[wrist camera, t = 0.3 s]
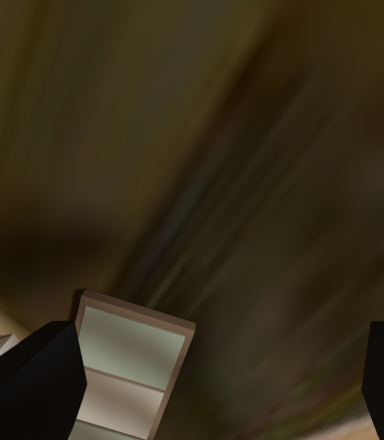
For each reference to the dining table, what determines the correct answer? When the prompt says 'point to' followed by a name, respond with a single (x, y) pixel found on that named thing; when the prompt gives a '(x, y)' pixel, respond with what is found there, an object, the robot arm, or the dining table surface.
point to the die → (7, 343)
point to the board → (126, 367)
